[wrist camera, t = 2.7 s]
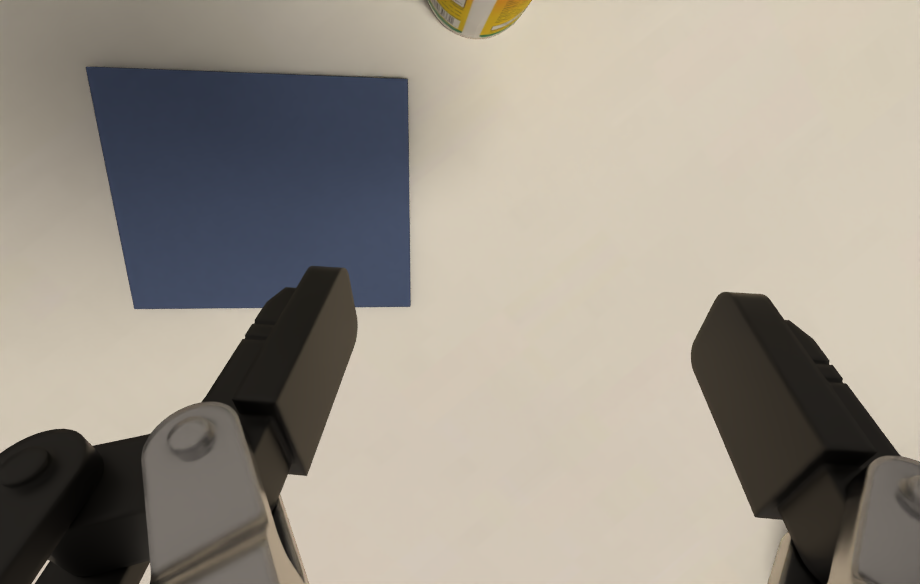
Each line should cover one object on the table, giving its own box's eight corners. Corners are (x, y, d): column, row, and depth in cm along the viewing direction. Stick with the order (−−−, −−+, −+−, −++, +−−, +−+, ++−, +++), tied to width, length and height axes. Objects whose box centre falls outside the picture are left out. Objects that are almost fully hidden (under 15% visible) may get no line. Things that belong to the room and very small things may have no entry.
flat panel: (90, 67, 21) (84, 66, 20) (407, 80, 22) (407, 78, 22) (138, 306, 24) (134, 309, 24) (410, 304, 26) (410, 306, 25)
